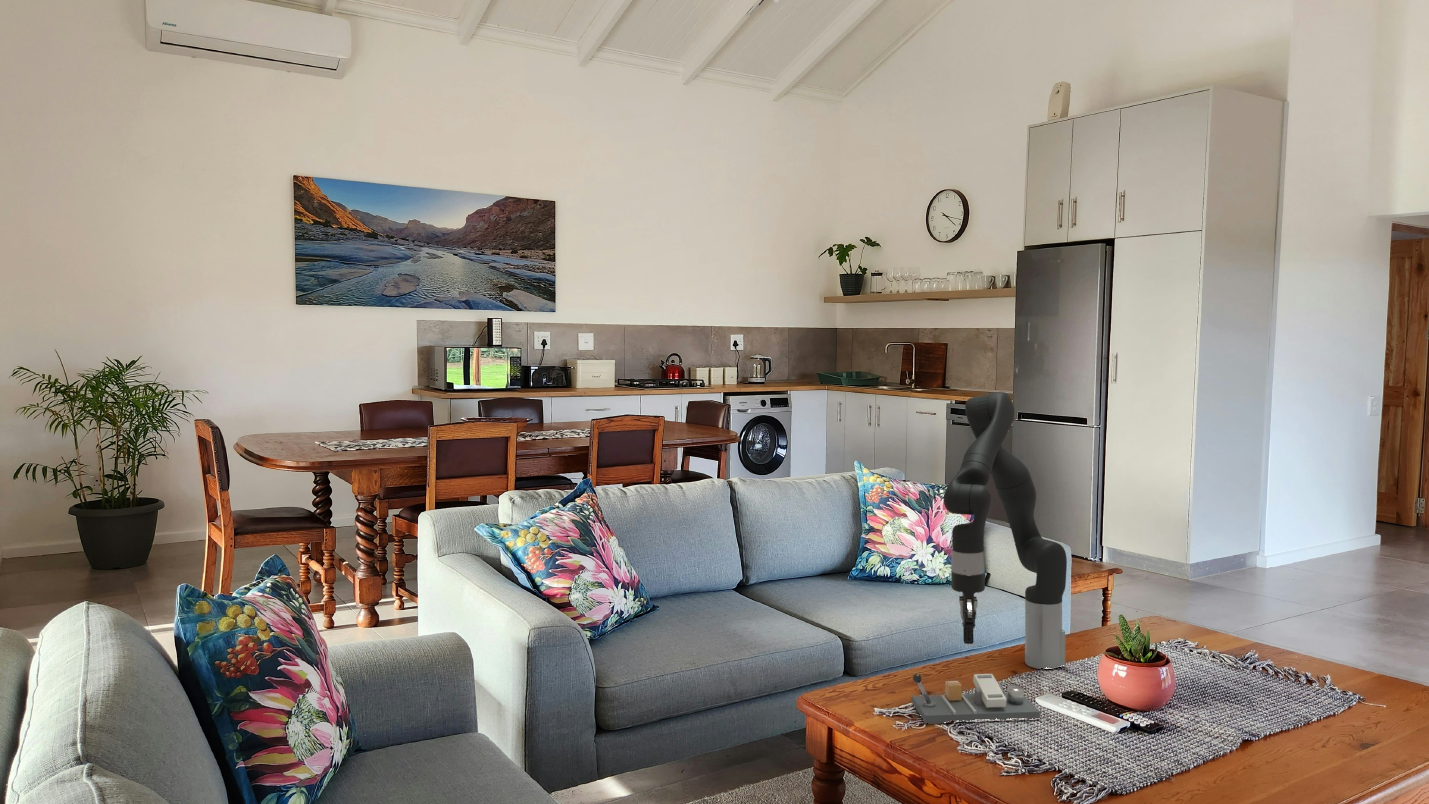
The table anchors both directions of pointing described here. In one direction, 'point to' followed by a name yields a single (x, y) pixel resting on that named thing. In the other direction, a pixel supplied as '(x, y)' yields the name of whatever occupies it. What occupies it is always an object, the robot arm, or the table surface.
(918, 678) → the toggle
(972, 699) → the panel
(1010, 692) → the button
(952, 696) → the slider
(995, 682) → the block
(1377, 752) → the table surface
